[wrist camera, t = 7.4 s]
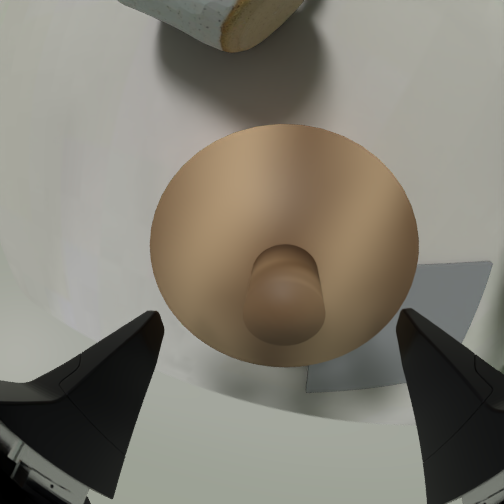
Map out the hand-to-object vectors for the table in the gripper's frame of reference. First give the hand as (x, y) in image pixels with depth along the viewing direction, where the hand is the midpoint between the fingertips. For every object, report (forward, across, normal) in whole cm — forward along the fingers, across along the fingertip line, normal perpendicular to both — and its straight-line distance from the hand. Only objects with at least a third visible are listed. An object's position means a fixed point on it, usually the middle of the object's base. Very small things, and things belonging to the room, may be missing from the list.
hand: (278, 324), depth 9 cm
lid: (+4, 0, 0) cm, 4 cm away
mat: (+9, -10, +10) cm, 17 cm away
